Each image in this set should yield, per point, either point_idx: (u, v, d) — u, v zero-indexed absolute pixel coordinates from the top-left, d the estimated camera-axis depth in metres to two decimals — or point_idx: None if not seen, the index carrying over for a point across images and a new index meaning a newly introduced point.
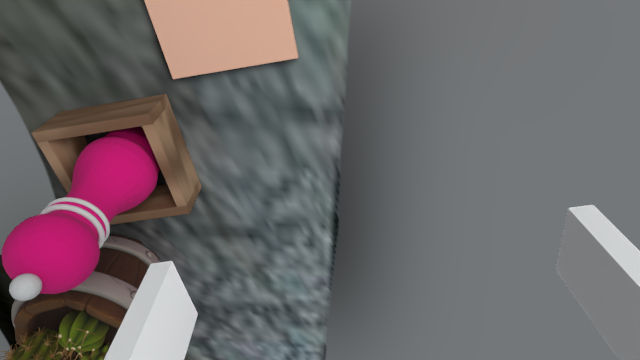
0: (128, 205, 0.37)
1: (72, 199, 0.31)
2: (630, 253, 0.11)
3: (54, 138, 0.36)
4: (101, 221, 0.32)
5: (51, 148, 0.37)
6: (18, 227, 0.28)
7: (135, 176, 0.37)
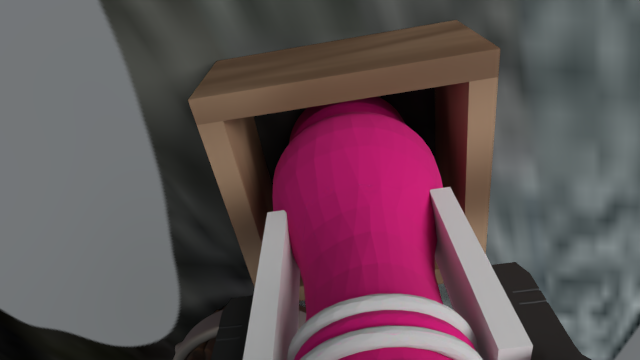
0: None
1: (410, 302, 0.09)
2: (461, 225, 0.13)
3: (241, 114, 0.15)
4: None
5: (227, 139, 0.15)
6: None
7: None
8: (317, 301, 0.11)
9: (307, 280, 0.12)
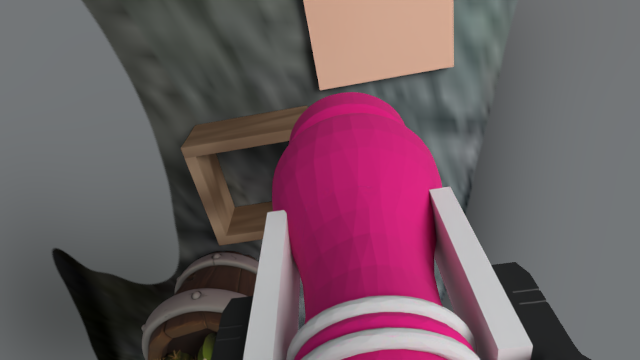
0: None
1: (409, 304, 0.09)
2: (461, 225, 0.13)
3: (203, 153, 0.35)
4: None
5: (198, 164, 0.35)
6: None
7: None
8: (316, 302, 0.11)
9: (306, 281, 0.12)
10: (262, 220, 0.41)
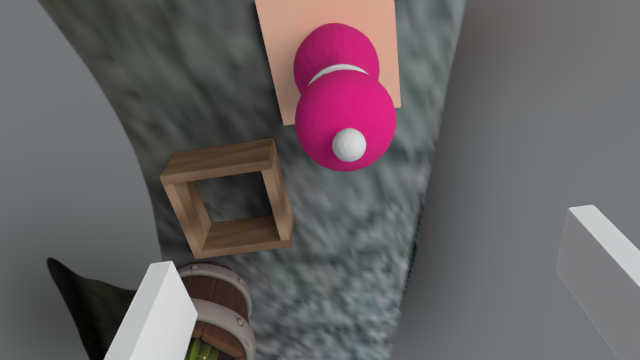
0: None
1: (349, 66, 0.26)
2: (630, 253, 0.11)
3: (179, 181, 0.40)
4: None
5: (175, 190, 0.40)
6: (324, 79, 0.22)
7: (374, 64, 0.31)
8: None
9: None
10: (234, 237, 0.46)
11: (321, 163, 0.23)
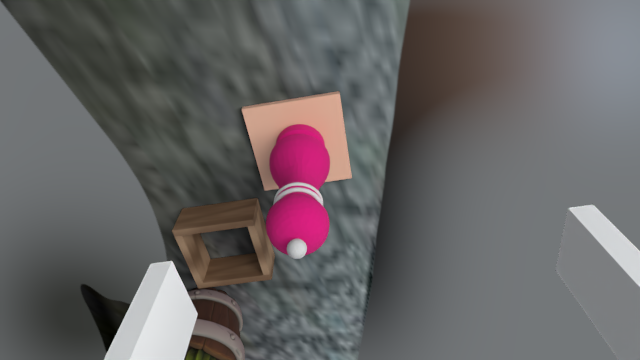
0: None
1: (302, 183, 0.40)
2: (630, 253, 0.11)
3: (186, 234, 0.54)
4: (321, 201, 0.40)
5: (183, 239, 0.54)
6: (282, 204, 0.36)
7: (324, 166, 0.45)
8: (281, 188, 0.41)
9: (279, 185, 0.43)
10: (228, 271, 0.60)
11: None
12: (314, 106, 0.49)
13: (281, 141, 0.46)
